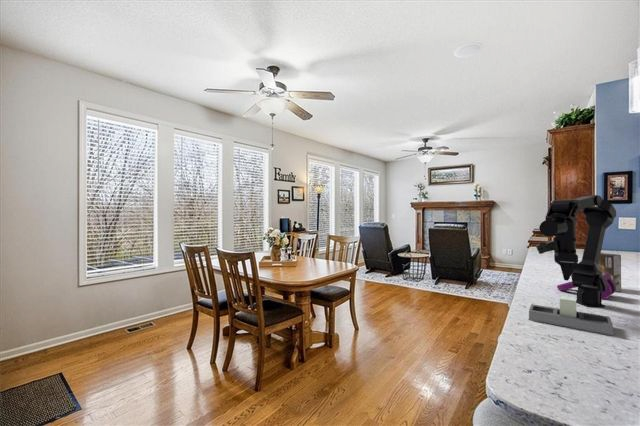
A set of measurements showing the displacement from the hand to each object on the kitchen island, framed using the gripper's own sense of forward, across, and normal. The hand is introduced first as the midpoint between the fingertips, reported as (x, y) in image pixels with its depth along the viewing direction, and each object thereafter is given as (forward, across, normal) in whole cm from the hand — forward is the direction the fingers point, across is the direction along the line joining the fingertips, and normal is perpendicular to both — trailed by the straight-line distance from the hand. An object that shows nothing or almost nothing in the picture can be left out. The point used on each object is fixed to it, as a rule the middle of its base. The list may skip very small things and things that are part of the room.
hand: (565, 277), depth 106 cm
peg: (+12, +14, 0) cm, 19 cm away
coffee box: (+14, -47, +14) cm, 51 cm away
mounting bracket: (+14, -32, +6) cm, 35 cm away
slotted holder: (+12, +14, 0) cm, 19 cm away
